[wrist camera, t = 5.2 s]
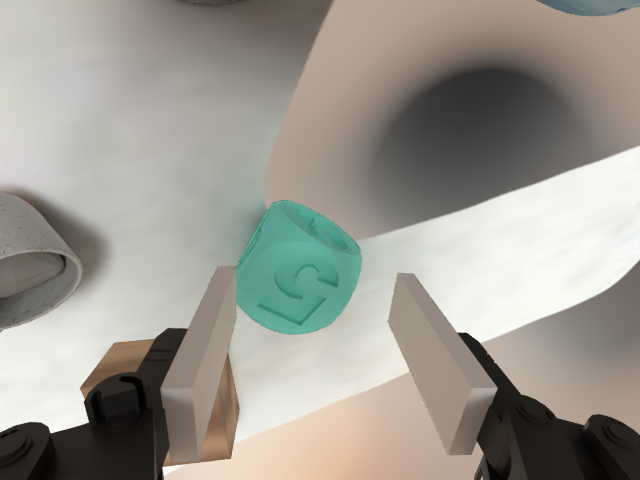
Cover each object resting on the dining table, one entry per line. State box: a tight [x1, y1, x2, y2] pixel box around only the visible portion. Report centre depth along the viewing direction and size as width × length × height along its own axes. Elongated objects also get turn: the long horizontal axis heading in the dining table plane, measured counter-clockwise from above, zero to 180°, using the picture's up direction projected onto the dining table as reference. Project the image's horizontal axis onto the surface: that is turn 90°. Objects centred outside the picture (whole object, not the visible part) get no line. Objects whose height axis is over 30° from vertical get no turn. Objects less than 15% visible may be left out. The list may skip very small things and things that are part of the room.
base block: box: [80, 339, 239, 467], centre depth 32 cm, size 11×11×6 cm
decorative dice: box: [236, 200, 362, 334], centre depth 26 cm, size 8×8×8 cm
